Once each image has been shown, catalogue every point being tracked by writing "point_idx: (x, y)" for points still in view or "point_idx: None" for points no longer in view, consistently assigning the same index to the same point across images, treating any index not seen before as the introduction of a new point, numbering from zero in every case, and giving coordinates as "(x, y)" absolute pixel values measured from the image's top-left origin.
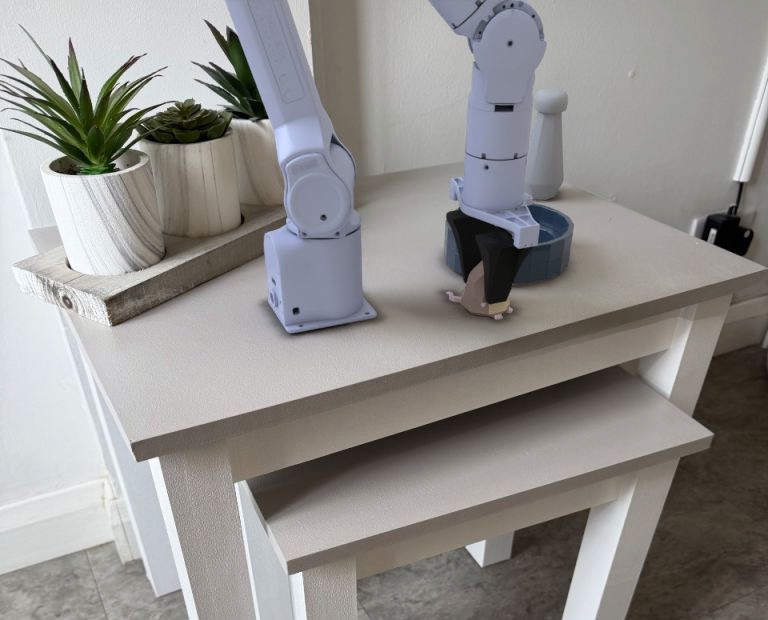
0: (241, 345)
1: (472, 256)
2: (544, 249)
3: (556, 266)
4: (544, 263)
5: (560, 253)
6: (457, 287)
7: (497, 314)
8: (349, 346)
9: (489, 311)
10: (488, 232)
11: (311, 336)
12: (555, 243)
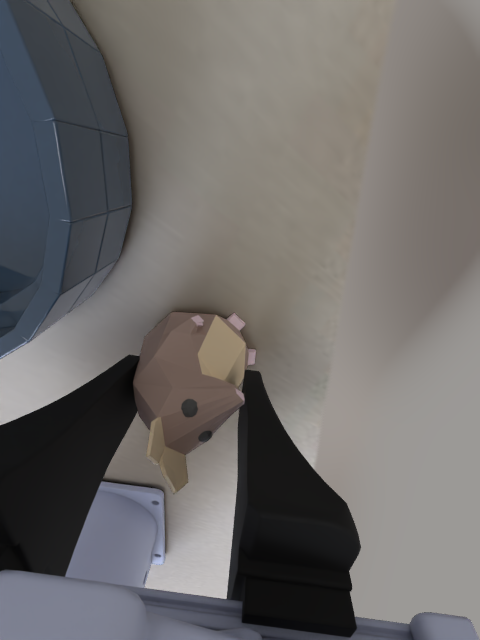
0: (167, 583)
1: (111, 431)
2: (74, 156)
3: (93, 73)
4: (103, 149)
5: (58, 38)
6: (88, 344)
7: (248, 360)
8: (220, 530)
9: (242, 379)
10: (68, 454)
11: (176, 544)
12: (45, 81)
